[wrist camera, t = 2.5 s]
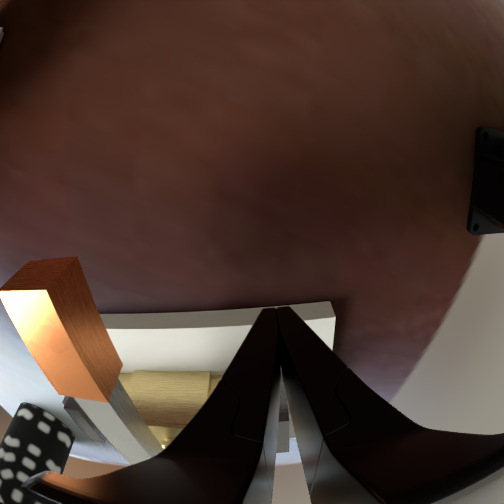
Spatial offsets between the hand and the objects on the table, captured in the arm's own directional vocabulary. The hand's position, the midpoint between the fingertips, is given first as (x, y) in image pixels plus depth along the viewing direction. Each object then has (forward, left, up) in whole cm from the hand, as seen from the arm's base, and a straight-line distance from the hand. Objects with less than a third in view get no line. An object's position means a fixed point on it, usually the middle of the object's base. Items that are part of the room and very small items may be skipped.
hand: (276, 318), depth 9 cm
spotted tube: (+29, +22, -7) cm, 37 cm away
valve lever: (+7, +4, 0) cm, 8 cm away
